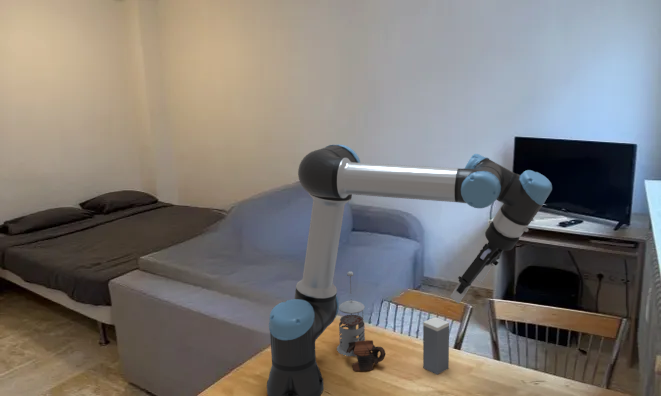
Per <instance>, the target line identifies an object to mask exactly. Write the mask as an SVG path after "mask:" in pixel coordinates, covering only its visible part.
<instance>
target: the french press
mask: <svg viewBox="0 0 661 396" xmlns="http://www.w3.org/2000/svg"><path fill="white" fill-rule="evenodd" d="M346 274H347V276H348V277H349V284H350V287H349V288H350V292H349V293H352V277H354V272H353V271H348V272H347V273H346ZM365 308H366V307H365V304H363V303H362V302H360V301H357V300H346V301H343V302H342V303H339V310H338V311H339V312H341V313H342V314H346V315H342V316H341V317H340V318H339V321H340V322H339V324H338V331H339V345H337V346H336V351H338V352H337V353H339V354H340V355H342V354H343V355H342V356H344V355H346V356H345V357H351V356H353V357H357V355H355V354H354V352H353V350H352V351H351V352H350V353H346V352H347V349H348V347H349V344H348V343H350V342H356V341H366V331H365V329H366V327H365V322H364V319H365V318H364V316H361V315H360V314H359V313H364V310H365ZM357 327H358V328H357Z"/></svg>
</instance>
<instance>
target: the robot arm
mask: <svg viewBox="0 0 661 396" xmlns="http://www.w3.org/2000/svg"><path fill="white" fill-rule="evenodd" d="M297 170H298V171H297V174H298V176H297V177H298V180H299V183H300V185H301V187H302V188H303V189H304V190H305V191H306V192H307V193H308V195H309V196H310V197H311V198H312V206H311V214H310V222H309V229H308V237H307V245H306V251H305V259H304V266H303V275H302V279H300V280H299V281H297V282H296V285H295V293H294V298H293V299H288V300H285V301H282V302H279V303H278V304H276V305H275V306H274V307H273V308H272V309H271V311H270V312H269V317H268V318H269V321H268V329H269V341H270V353H271V367H270V369H269V376H268V378H267V382H266V392H267V396H321V395H322V394H323V393H324V389H325V387H324V378H323V375H322V373H321V371H320V368H319V365H318V362H317V359H316V342H317V340H318V338H319V337H320V336H321V335H322V334H323V333H324V332H325V330H327V328H328V327H329V326H331V324H332V323H333V322H334V321H335V319H336V318H337V316H338V313H339V311H340V310H339V305H340V302H339V298H338V296H337V294H338V289H337V286H335V284H334V277H335V271H336V264H337V258H338V250H339V246H340V245H339V244H340V240H341V239H340V238H341V231H342V227H343V226H342V225H343V219H344V218H343V217H344V213H345V205H346V204H347V203H348V202H350V201H351V200H352V197H353V196H366V197H367V196H369V197H380V198H381V197H382V198H394V199H395V198H396V199H408V200H409V199H410V200H421V201H433V202H445V203H446V202H448V203H460V204H467V205H468V206H469V207H472V208H474V209H485V208H488V207H490V206H491V205H493V204H494V203H495V202H496V201H498V202H500V203H502V205H501V206H500V208H499V209H498V211H497V213H496V214H495V216H494V217H493V218H492V221H491V223H490V224H489V225H488V227H487V229H486V230H485V232H484V233H485V234H484V235H485V238H486V239H487V241H488V242H487V243H484V245H483V247H482V248H481V249H480V250H479V252H478V254H477V256H476V257H475V258H474V260H472V262H471V264H470V265H469V266H468V268H466V270H465V271H464V272H463V274H462V275H461V276H458V277H457V279H458V283H457V285H456V287H455V288H454V290H453V291H452V292H451V294H450V297H449V298H451V299H452V300H453V301H455V302H456V303H457V304H460V303H461V302H462V300H463V298H464V297H465V295H466V294H467V292H468V290H469V289H470V288H471V286H472V283H473V282H474V280H476V281H478V282H479V283H480V284H481V283H483V281H484V280H485V278H486V277H487V275H488V274H489V272H490V271H491V270H492V268H493V266H498V264H499V263H500V262H499V261H498V260H500V258H501V256H502V254H503V252H504V251H511V250H512V249H514V247H515V246H516V244H517V243H518V242H519V240H520V237H521V236H522V235H523V234H524V233H528V232H529V225H530V223H531V222H532V221H533V220H534V219H535V217H536V215H537V214H538V212H539V211H540V210H541V209H542V207H543V206H544V205H545V202H546V200H547V198H548V197H549V196H550V194H551V193H552V191H553V185H552V182H551V181H550V180H549V178H547V177H546V176H545V175H543V174H541V173H540V172H538V171H534V170H531V169H527V170H525V171H523V172H522V173H520V174H518V173H515V172H513V171H511V170H510V169H507V168H506V167H504V166H502V165H500V164H499V163H497V162H496V161H493V160H492V159H490V158H489V157H486V156H483V155H482V154H479V153H474V154H473V155H471V157H470V159H468V161H467V163H466V165H465V167H464V168H459V167H446V166H445V167H441V166H426V165H425V166H424V165H423V166H422V165H406V164H389V163H371V162H370V163H369V162H361V160H360V158H359V155H358V154H357V153H356V151H354V150H353V149H352V148H351V147H349V146H348V145H345V144H329V145H328V146H325V147H322V148H320V149H319V148H318V149H315V150H313V151H310V152H309V153H307V154H306V155H305V156H304V157H303V159H302V160H301V161H300V163H299V166H298V169H297Z"/></svg>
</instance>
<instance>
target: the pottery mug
mask: <svg viewBox="0 0 661 396" xmlns="http://www.w3.org/2000/svg"><path fill="white" fill-rule="evenodd" d="M348 344H349V347H348V349H347V352H346V353H350V352H351V351H352V350H353V352H354V354H355V355H357V356H356V359H357V361H356V362H353V363H352V368H353V371H354V372H360V371H361V372H362V371H372V370H374V365H375V366H378V364H379V363H380V362H382V361H384V359H385V357H386V351H385V349H384V347H383V346H376V345H374V341H373V340H370V339H368V340H367V339H365V341H356V342H350V343H348ZM379 354H380V355H379Z"/></svg>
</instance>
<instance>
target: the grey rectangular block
mask: <svg viewBox="0 0 661 396" xmlns="http://www.w3.org/2000/svg"><path fill="white" fill-rule="evenodd" d="M422 328H423V330H422V333H423V334H422V335H423V337H422V339H423V340H422V345H423V347H422V349H423V350H422V351H423V352H422V353H423V354H422V356H423V357H422V358H423V359H422V361H423V363H422V366H423V368H422V369H424V370H427V371H429V372H430V373H433V374H435V375H437V376H438V375H439V374H441V373H443V372H445V371H446V370H447V371H448V369H450V367H449V366H450V365H449V363H450V361H449V359H450V357H449V355H450V354H449V353H450V322H449V321H447V320H443V319H441V318H439V317H436V316H434V317H432V318H430V319H427V320H425V321H423V323H422Z"/></svg>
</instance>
